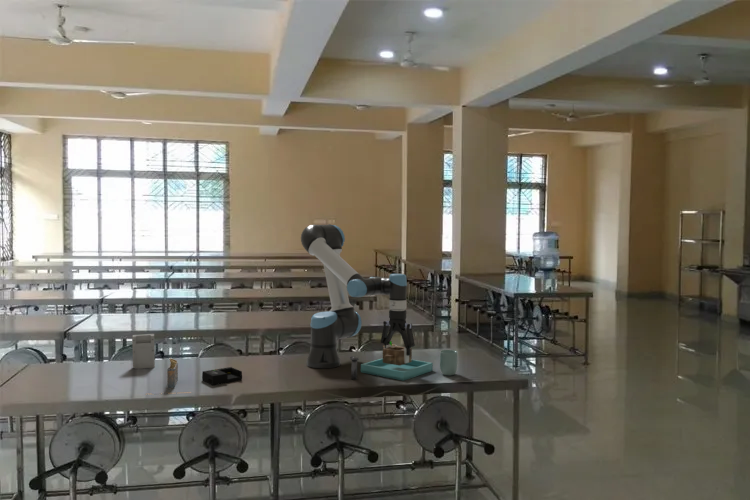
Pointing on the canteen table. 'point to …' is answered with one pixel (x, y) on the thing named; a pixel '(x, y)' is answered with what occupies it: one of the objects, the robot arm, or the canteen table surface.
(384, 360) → the wooden box
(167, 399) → the canteen table surface
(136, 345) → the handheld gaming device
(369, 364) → the tray
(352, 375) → the stake
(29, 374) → the canteen table surface
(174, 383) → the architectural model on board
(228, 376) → the battery charger
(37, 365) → the canteen table surface
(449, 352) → the cup
